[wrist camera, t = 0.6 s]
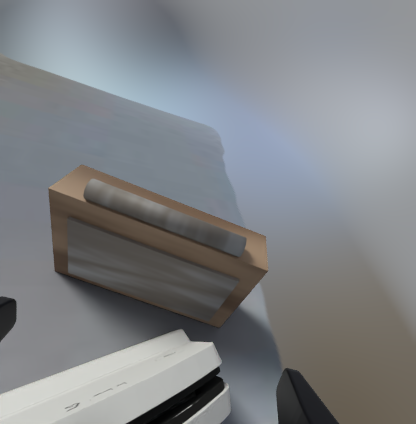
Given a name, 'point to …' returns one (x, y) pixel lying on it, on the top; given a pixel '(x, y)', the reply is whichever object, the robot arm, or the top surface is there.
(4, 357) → the top surface
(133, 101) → the top surface
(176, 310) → the tan flat boxy piece
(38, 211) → the top surface
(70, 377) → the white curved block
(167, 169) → the top surface
